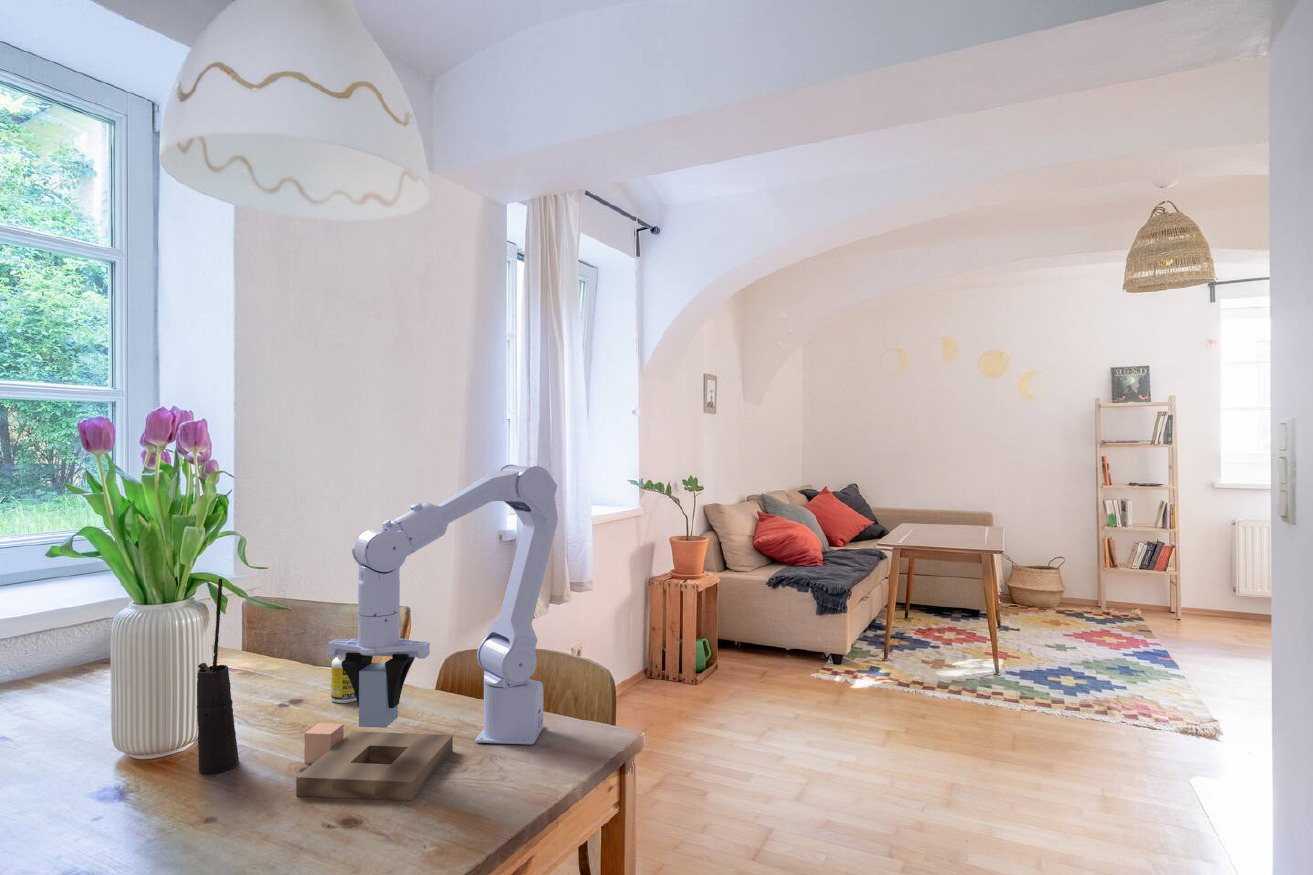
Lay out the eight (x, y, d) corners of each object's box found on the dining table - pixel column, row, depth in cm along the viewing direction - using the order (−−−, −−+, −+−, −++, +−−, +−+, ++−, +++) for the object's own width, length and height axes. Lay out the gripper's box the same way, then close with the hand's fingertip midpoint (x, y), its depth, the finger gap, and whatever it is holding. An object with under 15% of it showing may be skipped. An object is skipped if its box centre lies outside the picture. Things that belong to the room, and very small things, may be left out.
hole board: (452, 750, 117) (452, 734, 117) (411, 800, 101) (411, 781, 101) (352, 747, 118) (352, 731, 118) (296, 795, 102) (296, 777, 102)
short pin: (343, 753, 116) (343, 723, 116) (330, 764, 112) (330, 733, 112) (318, 752, 116) (318, 722, 116) (304, 763, 112) (304, 733, 112)
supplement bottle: (341, 706, 136) (341, 651, 136) (325, 699, 139) (325, 646, 139) (368, 697, 140) (368, 645, 140) (352, 691, 144) (352, 640, 144)
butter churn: (166, 765, 111) (167, 575, 111) (237, 746, 118) (238, 567, 118) (184, 785, 105) (185, 584, 105) (258, 764, 112) (258, 575, 112)
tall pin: (397, 717, 112) (397, 663, 112) (385, 727, 108) (386, 671, 108) (371, 716, 112) (371, 662, 112) (358, 726, 108) (359, 671, 108)
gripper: (316, 617, 107) (316, 713, 107) (416, 619, 106) (415, 716, 106) (341, 606, 114) (341, 696, 114) (435, 608, 113) (434, 699, 113)
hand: (378, 705), depth 110 cm, fingers closed on tall pin, 4 cm apart
